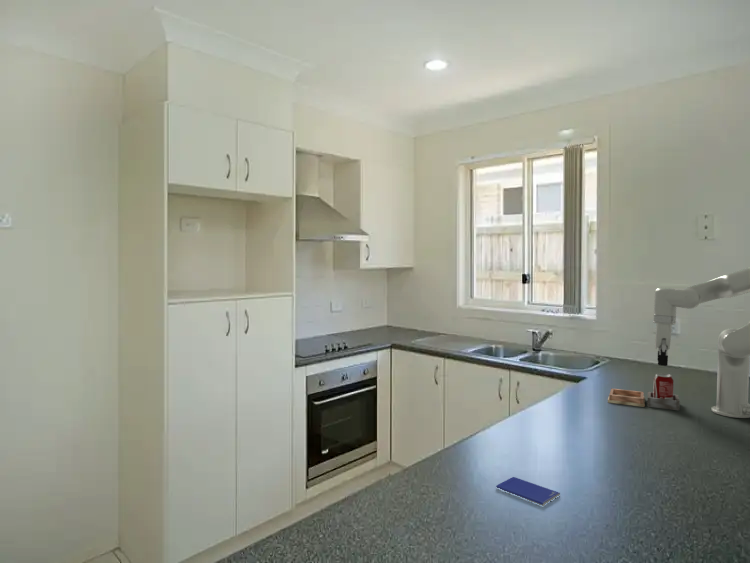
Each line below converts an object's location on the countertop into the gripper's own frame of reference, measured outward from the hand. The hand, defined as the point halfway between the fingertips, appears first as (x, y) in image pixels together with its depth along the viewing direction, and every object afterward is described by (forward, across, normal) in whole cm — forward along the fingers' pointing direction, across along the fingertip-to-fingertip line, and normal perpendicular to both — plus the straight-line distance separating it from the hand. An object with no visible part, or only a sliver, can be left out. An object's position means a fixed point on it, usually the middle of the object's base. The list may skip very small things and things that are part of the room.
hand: (662, 363), depth 199 cm
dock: (+17, 0, -6) cm, 17 cm away
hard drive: (+18, +104, -30) cm, 109 cm away
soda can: (+17, 0, +1) cm, 17 cm away
